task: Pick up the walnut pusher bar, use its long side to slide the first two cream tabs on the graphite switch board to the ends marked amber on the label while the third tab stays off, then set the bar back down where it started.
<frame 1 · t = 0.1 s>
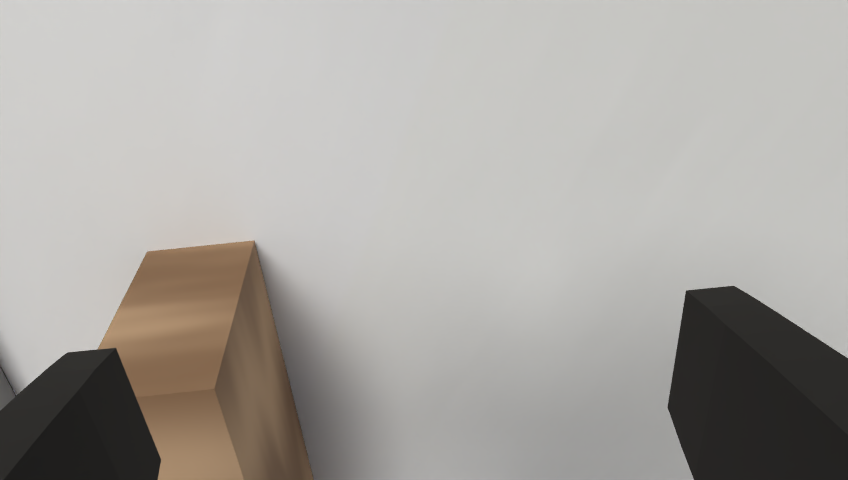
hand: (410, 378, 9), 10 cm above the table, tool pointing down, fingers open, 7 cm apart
pusher bar: (247, 397, 23), on the table
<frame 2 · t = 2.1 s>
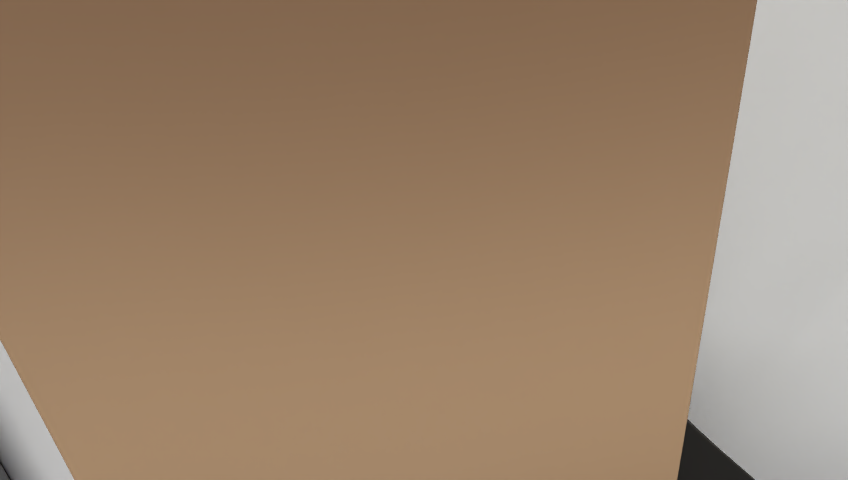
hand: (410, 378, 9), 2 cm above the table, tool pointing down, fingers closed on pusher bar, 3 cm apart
pusher bar: (404, 302, 10), on the table, touching gripper
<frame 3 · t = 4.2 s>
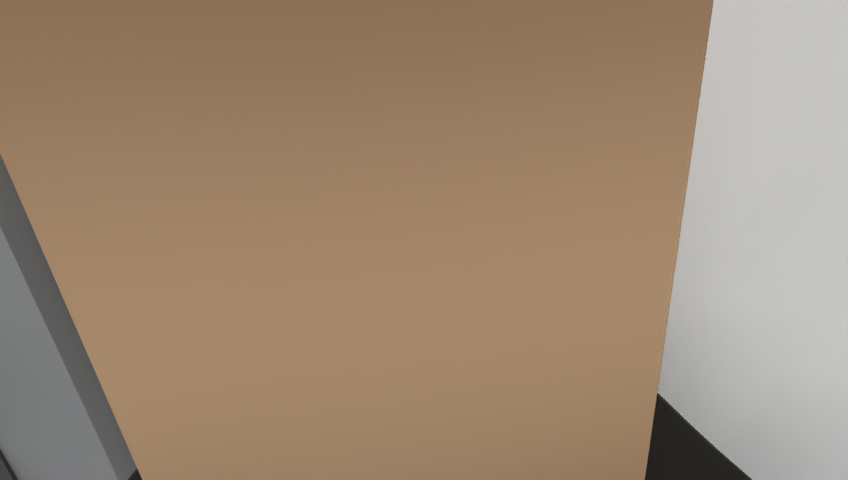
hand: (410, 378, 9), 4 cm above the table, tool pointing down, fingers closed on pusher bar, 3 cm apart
pusher bar: (401, 271, 11), point 2 cm above the table, touching gripper
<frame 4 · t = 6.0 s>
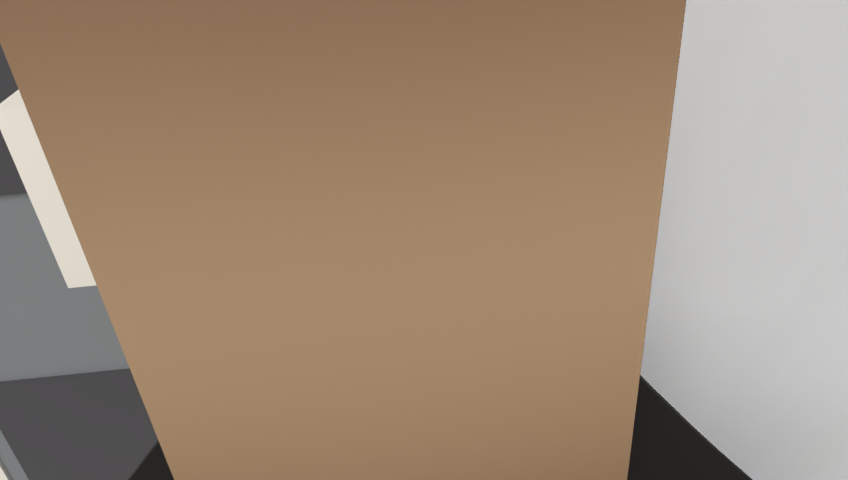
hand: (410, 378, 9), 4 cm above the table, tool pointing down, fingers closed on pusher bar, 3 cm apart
tab 2: (172, 134, 8), point 3 cm above the table, slide at 2.3 cm, touching pusher bar
switch board: (140, 67, 11), on the table
pusher bar: (402, 264, 11), point 2 cm above the table, touching gripper, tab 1, tab 2
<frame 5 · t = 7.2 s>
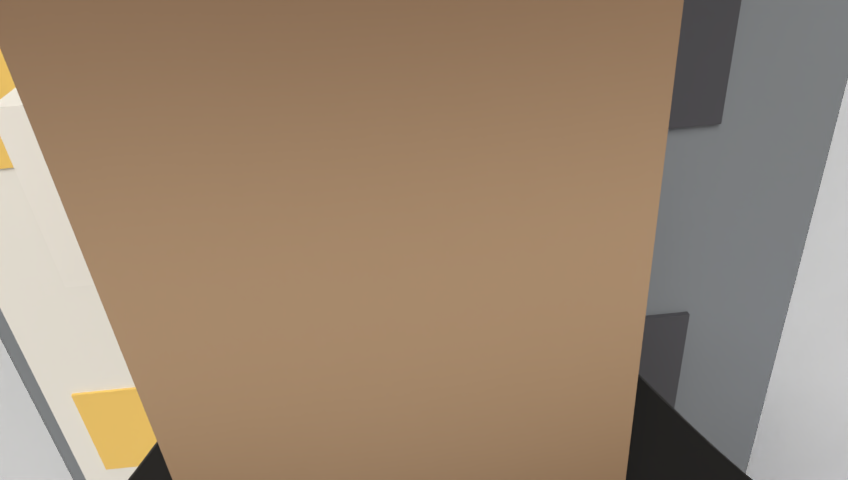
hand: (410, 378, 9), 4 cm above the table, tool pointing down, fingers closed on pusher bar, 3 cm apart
tab 2: (170, 133, 8), point 3 cm above the table, slide at 6.0 cm, touching pusher bar
switch board: (378, 43, 11), on the table
pusher bar: (401, 263, 11), point 2 cm above the table, touching gripper, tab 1, tab 2
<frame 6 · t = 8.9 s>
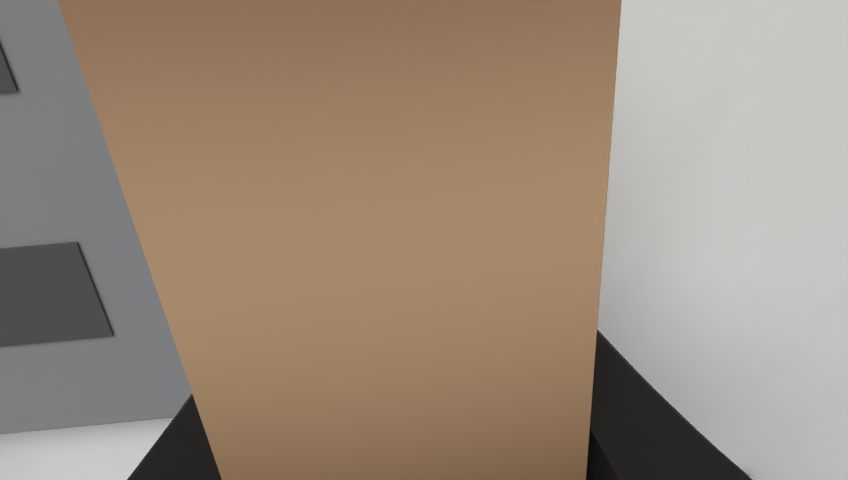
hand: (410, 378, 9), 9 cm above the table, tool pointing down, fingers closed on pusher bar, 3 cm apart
pusher bar: (399, 245, 12), point 5 cm above the table, touching gripper
when the fingers open (3 cm above the table, at t = 10.5 s): pusher bar stays where it is, on the table.
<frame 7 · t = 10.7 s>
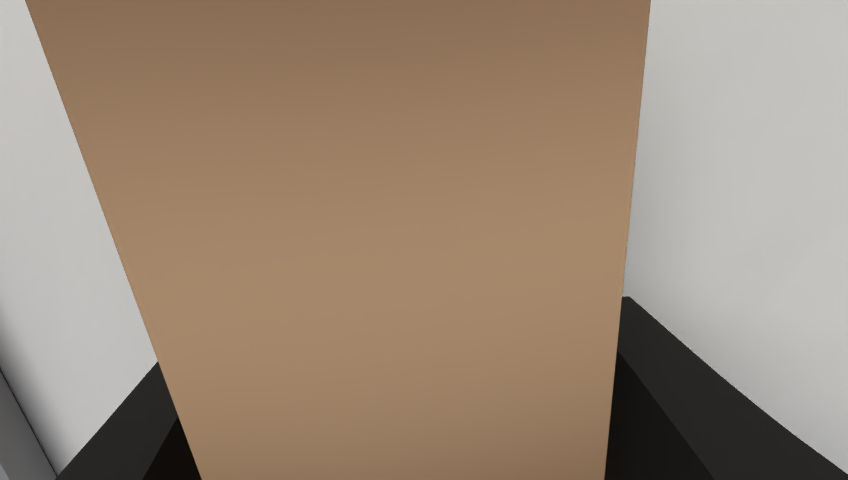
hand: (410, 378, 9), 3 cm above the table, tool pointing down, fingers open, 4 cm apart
pusher bar: (400, 256, 11), on the table
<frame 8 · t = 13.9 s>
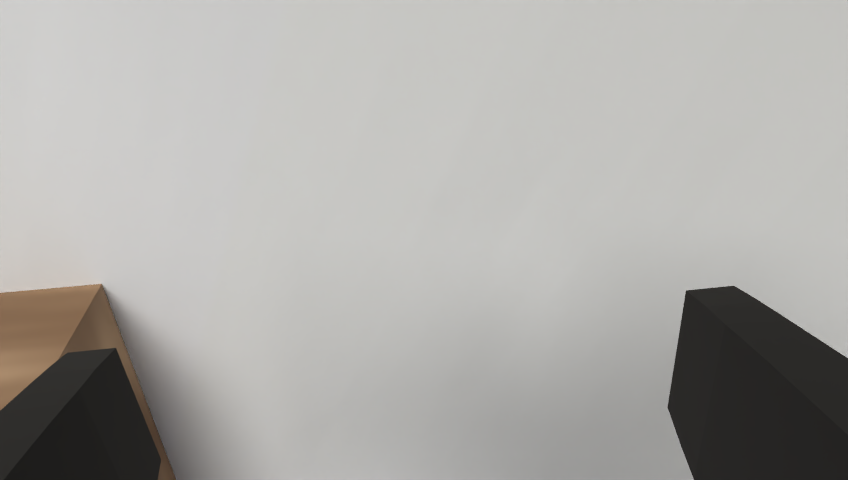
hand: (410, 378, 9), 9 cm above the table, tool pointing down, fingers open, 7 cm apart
pusher bar: (113, 436, 22), on the table
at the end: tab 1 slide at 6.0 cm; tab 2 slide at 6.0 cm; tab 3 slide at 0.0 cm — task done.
